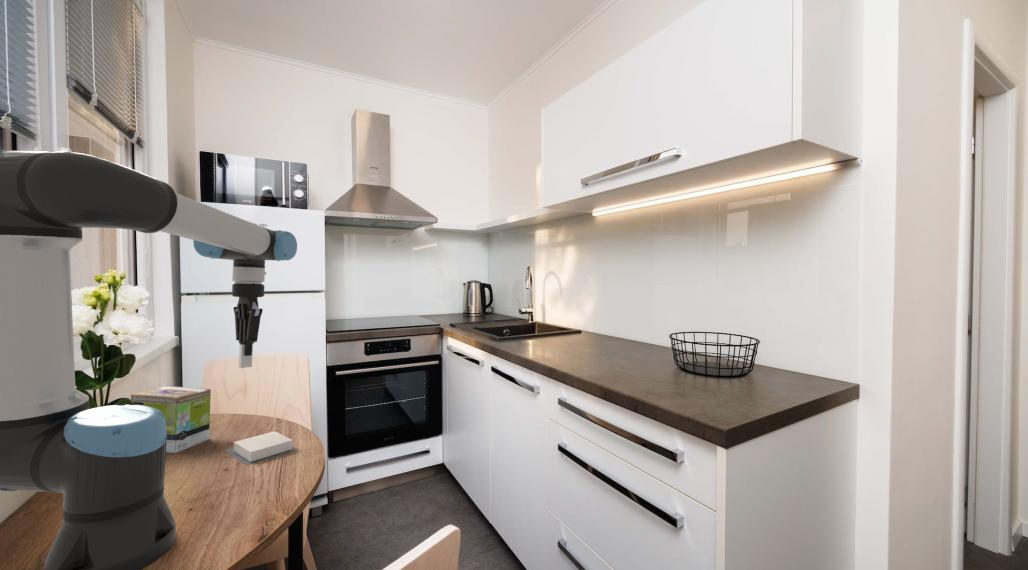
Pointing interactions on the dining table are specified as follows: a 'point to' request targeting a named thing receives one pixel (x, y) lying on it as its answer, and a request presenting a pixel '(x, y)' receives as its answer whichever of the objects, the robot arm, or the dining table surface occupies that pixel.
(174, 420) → the tea box
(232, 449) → the mat
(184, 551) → the dining table surface
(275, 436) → the tile
